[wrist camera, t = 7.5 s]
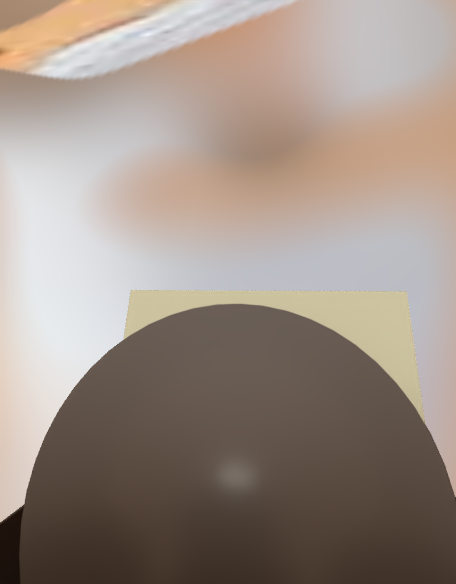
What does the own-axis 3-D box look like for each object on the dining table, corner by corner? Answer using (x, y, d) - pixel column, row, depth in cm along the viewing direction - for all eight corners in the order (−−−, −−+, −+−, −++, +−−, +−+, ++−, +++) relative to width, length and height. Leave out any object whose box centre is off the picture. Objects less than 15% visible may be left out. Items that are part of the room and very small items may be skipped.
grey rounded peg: (288, 499, 14) (427, 973, 2) (211, 469, 15) (-64, 673, 2) (308, 416, 15) (486, 366, 3) (235, 391, 16) (123, 264, 3)
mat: (453, 656, 15) (458, 662, 14) (86, 616, 17) (81, 620, 16) (403, 294, 20) (406, 291, 20) (133, 292, 22) (130, 290, 22)
